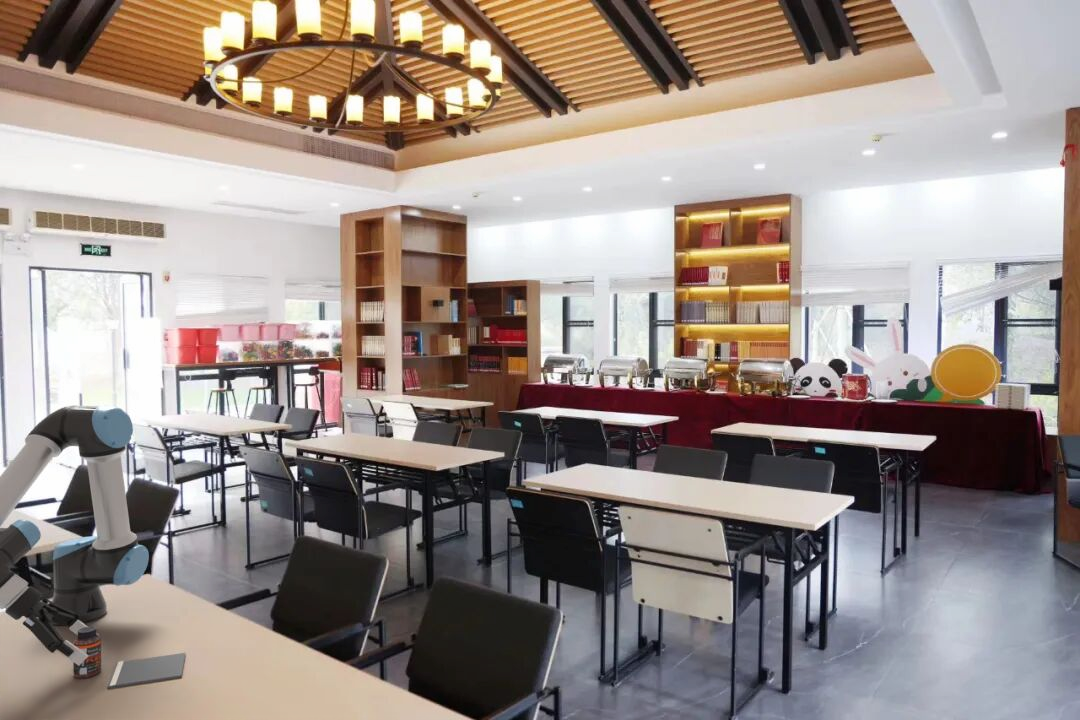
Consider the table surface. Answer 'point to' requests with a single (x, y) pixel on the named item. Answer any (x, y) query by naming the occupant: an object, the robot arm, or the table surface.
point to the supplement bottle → (88, 652)
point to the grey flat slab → (147, 670)
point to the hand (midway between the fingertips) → (89, 649)
